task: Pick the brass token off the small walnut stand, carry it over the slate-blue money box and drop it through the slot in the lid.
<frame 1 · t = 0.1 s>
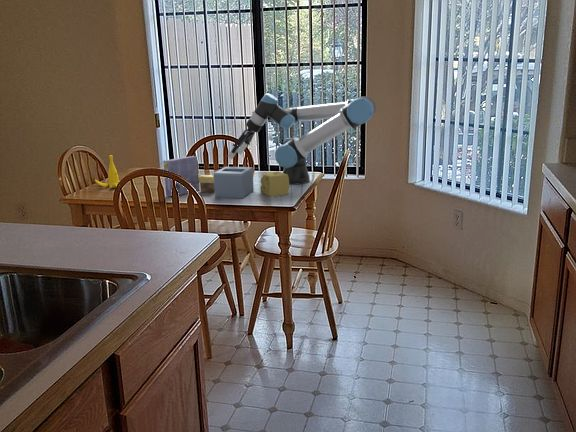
hand: (234, 155, 278), 15 cm above the table, tool tilted 35°, fingers open, 13 cm apart
stand: (208, 191, 268), on the table
token: (207, 181, 267), point 5 cm above the table, touching stand
banana peel: (110, 186, 286), on the table
money box: (234, 194, 261), on the table
cheese: (275, 194, 261), on the table
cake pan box: (183, 193, 266), on the table
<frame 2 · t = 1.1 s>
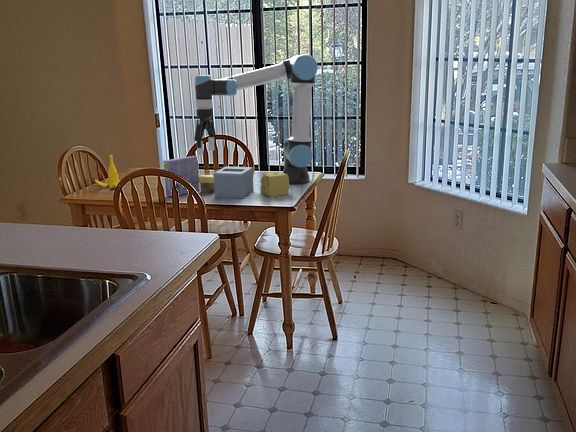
hand: (206, 152, 263), 20 cm above the table, tool pointing down, fingers open, 13 cm apart
nothing on the table moved.
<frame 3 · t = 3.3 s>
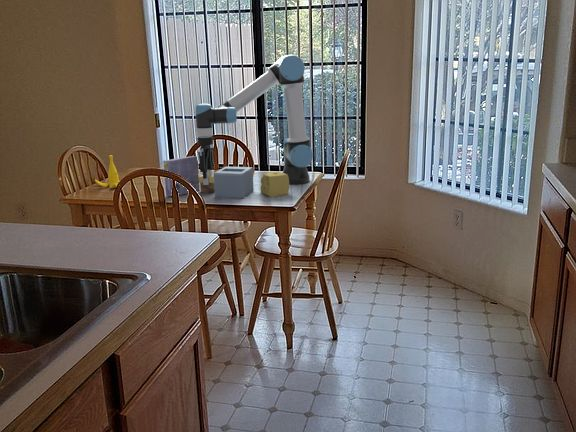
hand: (207, 183, 267), 4 cm above the table, tool pointing down, fingers closed on token, 4 cm apart
token: (207, 181, 267), point 5 cm above the table, touching gripper, stand
everything else where it was.
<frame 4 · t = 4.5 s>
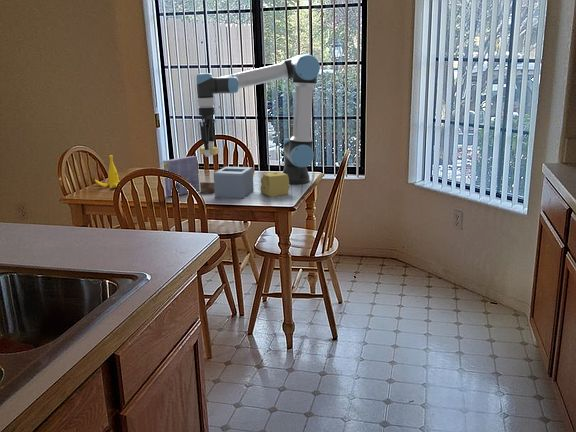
hand: (209, 155, 262), 18 cm above the table, tool pointing down, fingers closed on token, 4 cm apart
token: (209, 153, 262), point 19 cm above the table, touching gripper
everything else where it was.
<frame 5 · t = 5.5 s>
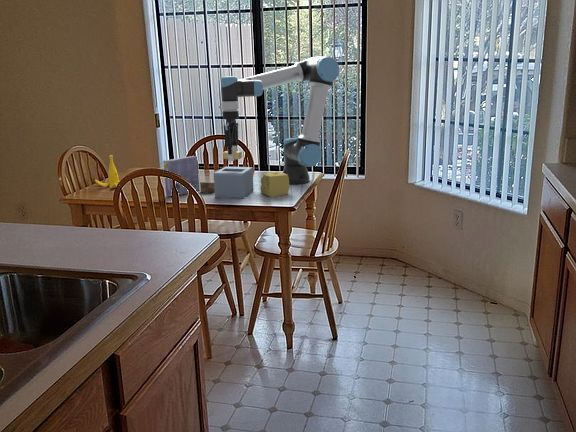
hand: (232, 160, 257), 17 cm above the table, tool pointing down, fingers closed on token, 4 cm apart
token: (232, 158, 256), point 18 cm above the table, touching gripper
everything else where it was.
when the fingers open (13 cm above the table, at t = 6.2 s): token drops 13 cm, resting on money box.
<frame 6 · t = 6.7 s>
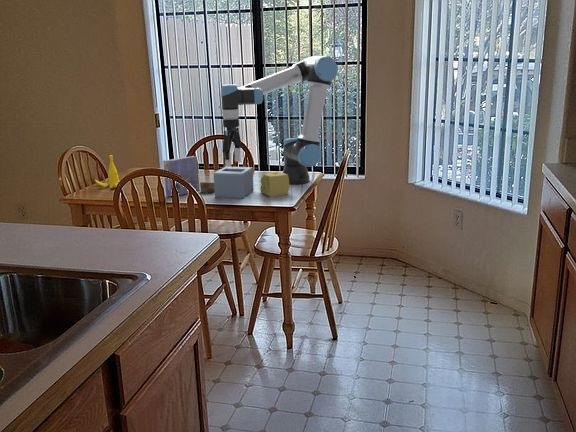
hand: (233, 164, 257), 15 cm above the table, tool pointing down, fingers open, 12 cm apart
token: (234, 193, 261), point 1 cm above the table, touching money box
everything else where it was.
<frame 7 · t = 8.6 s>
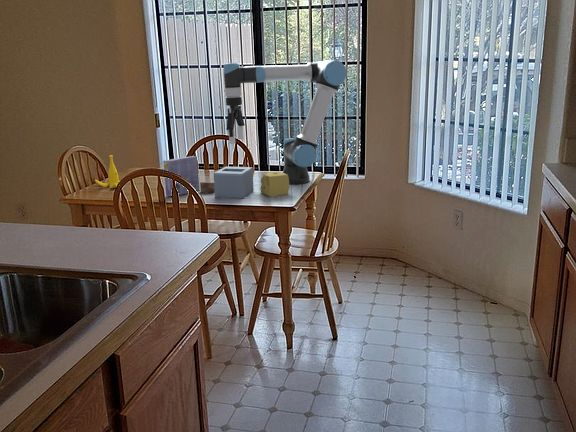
hand: (236, 141, 261), 25 cm above the table, tool pointing down, fingers open, 13 cm apart
nothing on the table moved.
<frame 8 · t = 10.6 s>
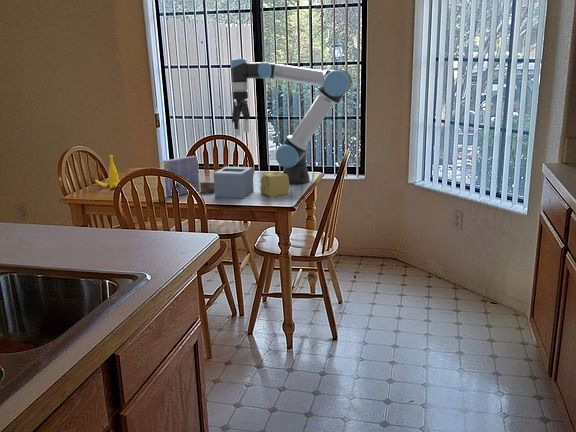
hand: (242, 133, 273), 27 cm above the table, tool pointing down, fingers open, 13 cm apart
nothing on the table moved.
at the end: token inside the target area on the money box (0.0 cm from its centre), point 0.6 cm above the money box's base; the gripper is holding nothing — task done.
